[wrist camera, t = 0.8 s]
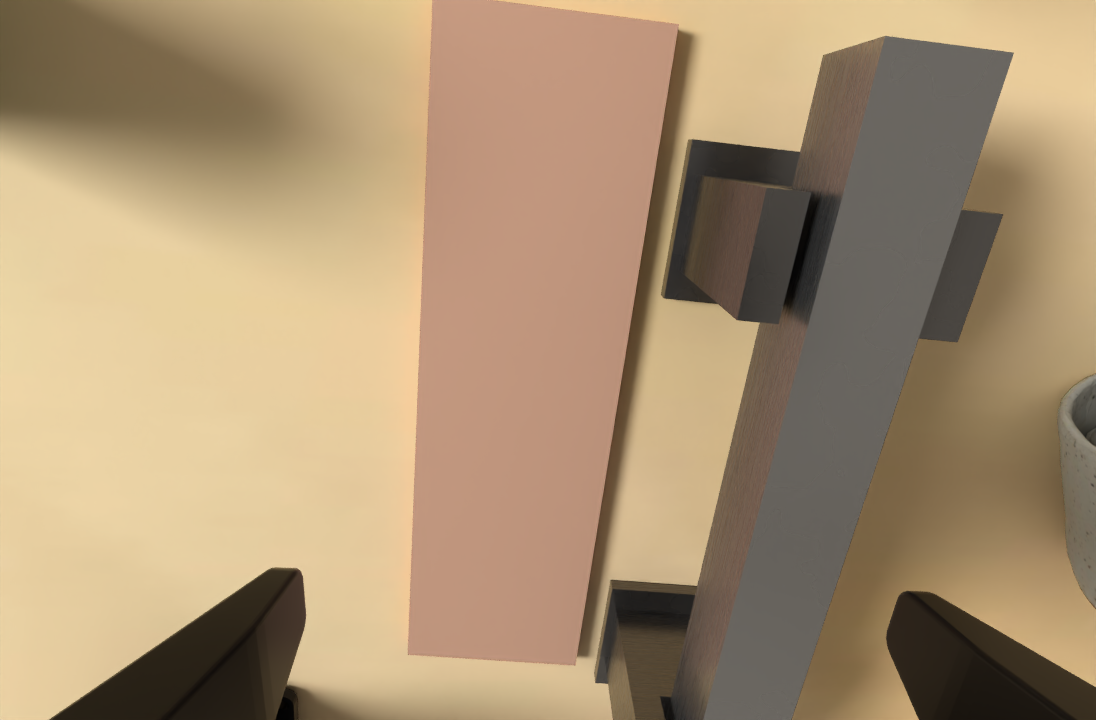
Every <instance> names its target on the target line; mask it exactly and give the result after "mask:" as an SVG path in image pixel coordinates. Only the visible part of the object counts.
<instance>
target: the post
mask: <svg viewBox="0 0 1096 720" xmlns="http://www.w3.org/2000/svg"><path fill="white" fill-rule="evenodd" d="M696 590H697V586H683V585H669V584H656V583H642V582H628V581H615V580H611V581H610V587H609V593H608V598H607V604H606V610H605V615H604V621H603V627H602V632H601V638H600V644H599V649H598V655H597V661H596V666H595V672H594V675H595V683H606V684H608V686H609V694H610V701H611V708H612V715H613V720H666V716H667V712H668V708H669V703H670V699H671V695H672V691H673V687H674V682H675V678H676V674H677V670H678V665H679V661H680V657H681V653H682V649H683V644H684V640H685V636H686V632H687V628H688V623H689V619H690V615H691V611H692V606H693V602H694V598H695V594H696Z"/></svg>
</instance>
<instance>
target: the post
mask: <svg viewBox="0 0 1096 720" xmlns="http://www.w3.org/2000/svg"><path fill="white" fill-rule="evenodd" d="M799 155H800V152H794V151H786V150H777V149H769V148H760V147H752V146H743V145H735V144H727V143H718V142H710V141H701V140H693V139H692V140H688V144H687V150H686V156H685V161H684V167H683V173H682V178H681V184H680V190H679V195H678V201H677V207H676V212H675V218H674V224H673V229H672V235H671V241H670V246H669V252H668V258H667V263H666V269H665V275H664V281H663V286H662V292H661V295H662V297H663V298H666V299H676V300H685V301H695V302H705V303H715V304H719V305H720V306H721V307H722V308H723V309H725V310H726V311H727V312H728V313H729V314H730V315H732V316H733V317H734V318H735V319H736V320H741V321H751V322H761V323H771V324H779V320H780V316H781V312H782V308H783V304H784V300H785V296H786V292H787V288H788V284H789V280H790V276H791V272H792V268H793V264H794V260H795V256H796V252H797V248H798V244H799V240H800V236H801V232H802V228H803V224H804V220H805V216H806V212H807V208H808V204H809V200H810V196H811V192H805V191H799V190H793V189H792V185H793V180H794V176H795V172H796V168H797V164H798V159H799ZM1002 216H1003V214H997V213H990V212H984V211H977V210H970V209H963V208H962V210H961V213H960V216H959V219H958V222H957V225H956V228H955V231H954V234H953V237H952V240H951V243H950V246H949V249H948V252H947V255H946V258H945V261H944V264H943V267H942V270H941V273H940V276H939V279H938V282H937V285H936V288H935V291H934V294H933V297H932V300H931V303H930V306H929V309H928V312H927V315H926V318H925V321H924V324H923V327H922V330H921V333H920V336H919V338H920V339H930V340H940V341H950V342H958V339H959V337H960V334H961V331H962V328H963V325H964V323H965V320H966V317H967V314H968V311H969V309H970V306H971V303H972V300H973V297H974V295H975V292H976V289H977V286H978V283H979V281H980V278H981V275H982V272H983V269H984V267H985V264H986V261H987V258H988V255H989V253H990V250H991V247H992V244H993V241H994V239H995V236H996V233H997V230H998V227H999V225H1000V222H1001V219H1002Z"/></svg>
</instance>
